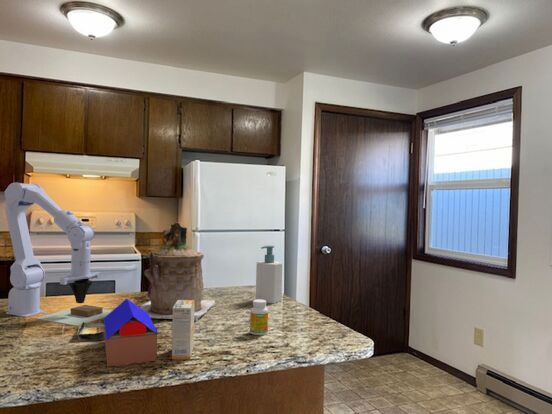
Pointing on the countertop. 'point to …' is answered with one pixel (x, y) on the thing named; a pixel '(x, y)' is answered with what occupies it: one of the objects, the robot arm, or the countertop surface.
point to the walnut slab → (86, 311)
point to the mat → (72, 317)
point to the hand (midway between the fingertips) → (80, 302)
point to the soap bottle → (269, 278)
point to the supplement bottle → (259, 318)
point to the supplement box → (183, 329)
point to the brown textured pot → (175, 276)
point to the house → (129, 335)
